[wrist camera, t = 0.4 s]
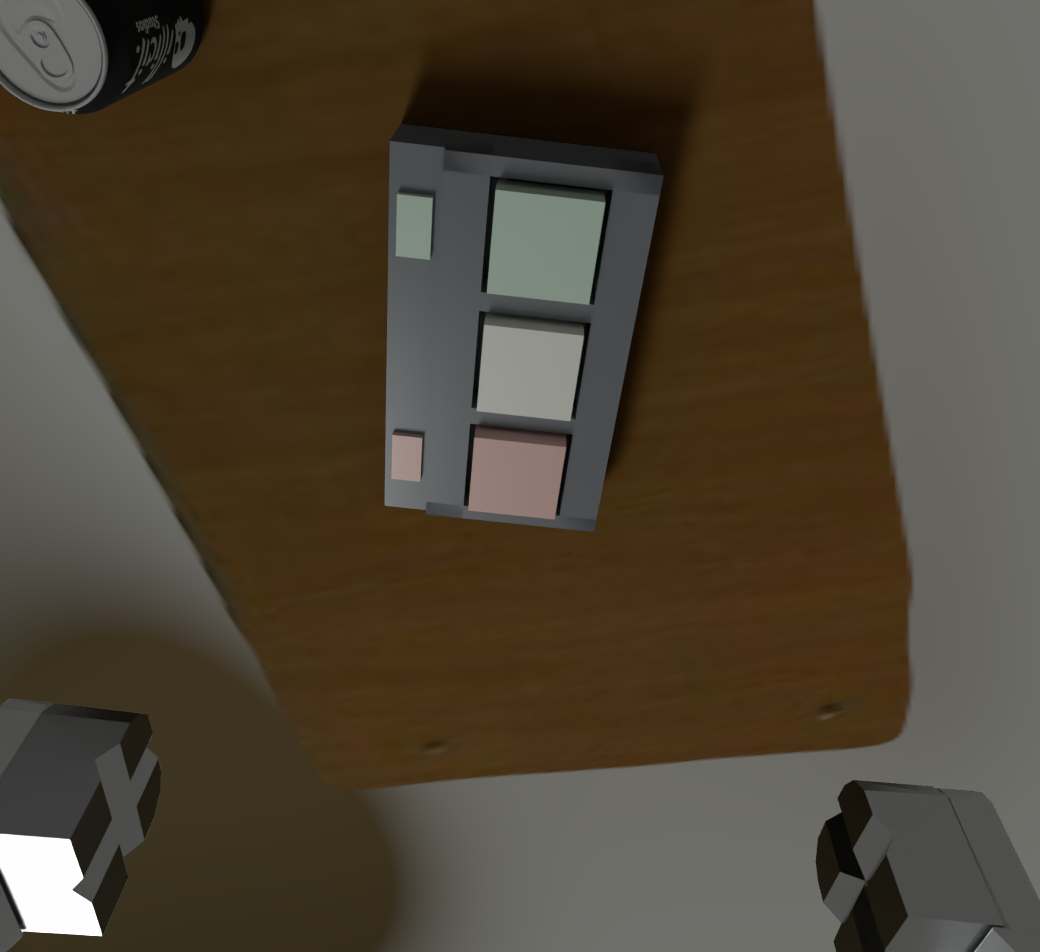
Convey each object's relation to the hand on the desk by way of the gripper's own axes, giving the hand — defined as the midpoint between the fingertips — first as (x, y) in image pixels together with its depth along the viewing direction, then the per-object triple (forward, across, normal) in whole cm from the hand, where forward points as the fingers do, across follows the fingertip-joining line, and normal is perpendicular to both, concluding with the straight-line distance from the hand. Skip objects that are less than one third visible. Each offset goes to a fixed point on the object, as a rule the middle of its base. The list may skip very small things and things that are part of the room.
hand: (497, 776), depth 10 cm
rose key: (+43, -1, +24) cm, 49 cm away
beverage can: (+46, +22, -1) cm, 51 cm away
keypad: (+46, +1, +16) cm, 49 cm away
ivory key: (+43, -1, +16) cm, 45 cm away
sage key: (+42, -1, +8) cm, 43 cm away
